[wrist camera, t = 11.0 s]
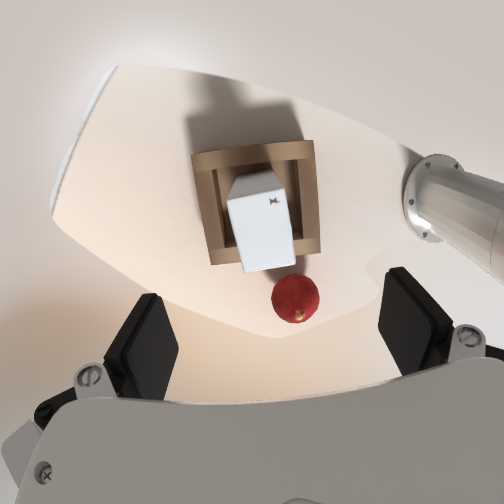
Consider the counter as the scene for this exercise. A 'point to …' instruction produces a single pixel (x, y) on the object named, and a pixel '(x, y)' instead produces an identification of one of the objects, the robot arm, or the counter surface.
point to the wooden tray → (249, 161)
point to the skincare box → (261, 221)
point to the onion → (295, 298)
